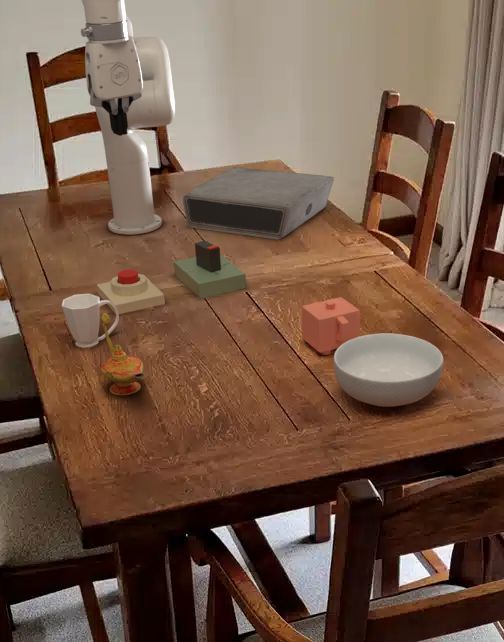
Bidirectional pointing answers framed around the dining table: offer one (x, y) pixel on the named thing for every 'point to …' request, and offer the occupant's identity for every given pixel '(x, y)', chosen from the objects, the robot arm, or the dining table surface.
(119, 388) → the magic lamp
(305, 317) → the pink cube teapot
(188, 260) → the panel
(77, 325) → the cup
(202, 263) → the red-striped black box
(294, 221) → the speaker
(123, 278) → the power button
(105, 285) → the switch box
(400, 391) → the cereal bowl
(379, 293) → the dining table surface
